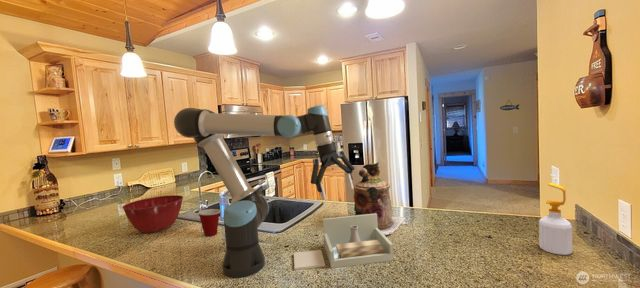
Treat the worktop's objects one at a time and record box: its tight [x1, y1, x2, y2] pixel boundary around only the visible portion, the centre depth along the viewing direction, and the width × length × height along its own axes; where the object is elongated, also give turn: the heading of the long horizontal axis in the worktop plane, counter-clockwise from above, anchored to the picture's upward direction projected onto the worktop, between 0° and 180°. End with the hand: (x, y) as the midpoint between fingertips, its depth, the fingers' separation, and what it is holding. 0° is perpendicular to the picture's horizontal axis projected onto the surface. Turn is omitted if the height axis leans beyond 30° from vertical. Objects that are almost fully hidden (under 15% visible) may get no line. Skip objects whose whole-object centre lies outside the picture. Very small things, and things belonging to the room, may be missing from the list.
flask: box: [349, 225, 361, 243], centre depth 107 cm, size 7×7×10 cm
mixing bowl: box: [121, 194, 184, 234], centre depth 149 cm, size 28×28×16 cm
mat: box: [293, 249, 326, 271], centre depth 102 cm, size 11×12×1 cm
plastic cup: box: [197, 208, 222, 237], centre depth 135 cm, size 11×11×12 cm
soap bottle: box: [538, 182, 573, 256], centre depth 98 cm, size 9×9×25 cm
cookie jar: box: [353, 161, 406, 236], centre depth 133 cm, size 25×25×32 cm
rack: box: [322, 213, 395, 269], centre depth 105 cm, size 23×18×12 cm
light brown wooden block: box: [335, 240, 384, 259], centre depth 101 cm, size 17×4×6 cm, turn 98°
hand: (338, 193), depth 110 cm, fingers open, 13 cm apart
